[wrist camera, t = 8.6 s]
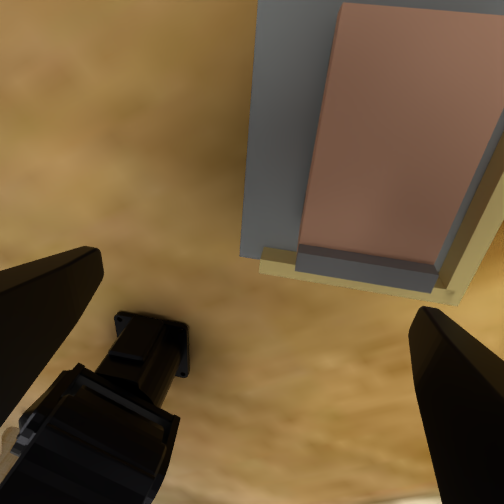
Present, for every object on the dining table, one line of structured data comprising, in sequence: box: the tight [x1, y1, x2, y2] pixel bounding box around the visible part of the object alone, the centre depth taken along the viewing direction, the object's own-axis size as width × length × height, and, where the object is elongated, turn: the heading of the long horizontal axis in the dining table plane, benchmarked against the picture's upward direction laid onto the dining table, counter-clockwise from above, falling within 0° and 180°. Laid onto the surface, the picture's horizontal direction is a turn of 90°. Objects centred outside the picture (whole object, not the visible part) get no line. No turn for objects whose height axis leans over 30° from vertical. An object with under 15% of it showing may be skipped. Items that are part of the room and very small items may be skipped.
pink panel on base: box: [295, 2, 504, 294], centre depth 15 cm, size 10×6×5 cm, turn 175°
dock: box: [240, 0, 504, 306], centre depth 17 cm, size 16×13×4 cm
